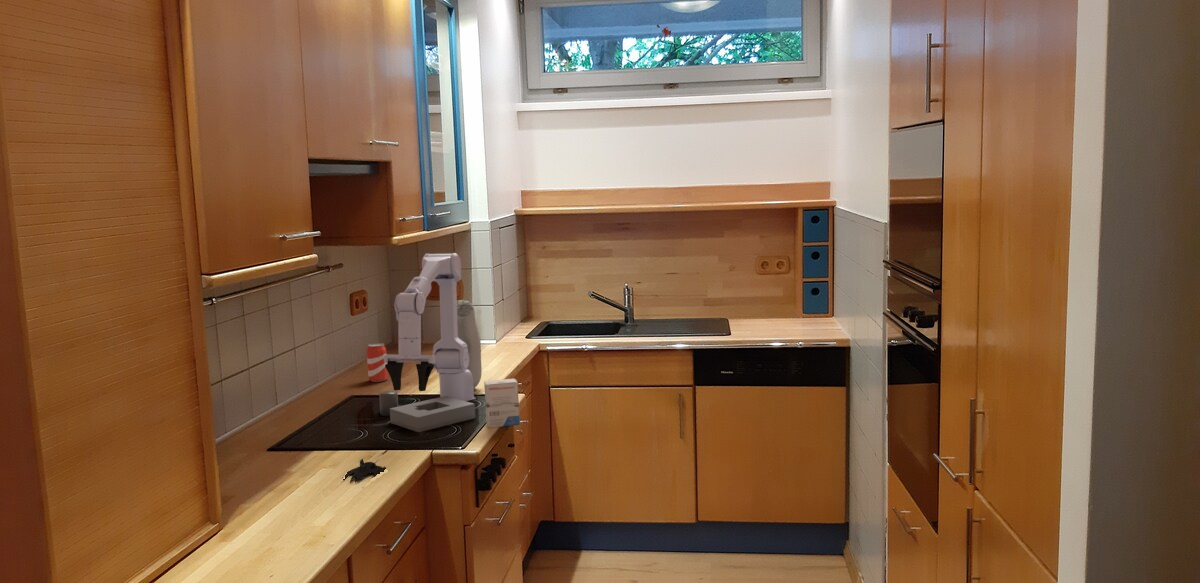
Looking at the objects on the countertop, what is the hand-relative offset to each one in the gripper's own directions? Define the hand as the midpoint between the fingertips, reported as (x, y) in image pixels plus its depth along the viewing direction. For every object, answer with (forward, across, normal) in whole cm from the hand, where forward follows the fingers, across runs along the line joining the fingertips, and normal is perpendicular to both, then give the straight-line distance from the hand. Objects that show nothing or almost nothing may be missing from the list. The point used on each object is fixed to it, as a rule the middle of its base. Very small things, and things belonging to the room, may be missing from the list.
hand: (409, 390), depth 239 cm
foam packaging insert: (+9, 0, +11) cm, 14 cm away
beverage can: (+2, -44, +50) cm, 66 cm away
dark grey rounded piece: (+8, -16, +14) cm, 23 cm away
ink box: (+10, +21, +12) cm, 26 cm away
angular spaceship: (+17, +9, -34) cm, 39 cm away
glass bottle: (+4, -8, +45) cm, 46 cm away
